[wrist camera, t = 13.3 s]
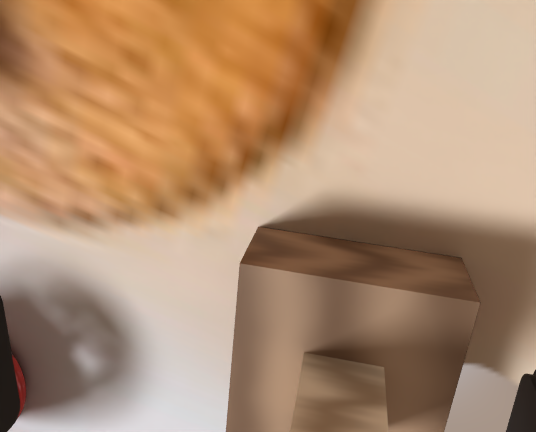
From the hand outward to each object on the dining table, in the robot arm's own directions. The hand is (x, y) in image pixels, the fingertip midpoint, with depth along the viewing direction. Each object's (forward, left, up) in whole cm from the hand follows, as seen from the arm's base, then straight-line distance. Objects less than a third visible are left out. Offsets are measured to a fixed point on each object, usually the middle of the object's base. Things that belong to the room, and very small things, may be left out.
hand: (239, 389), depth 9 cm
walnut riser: (-3, +16, -26) cm, 30 cm away
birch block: (-3, +16, -20) cm, 25 cm away
